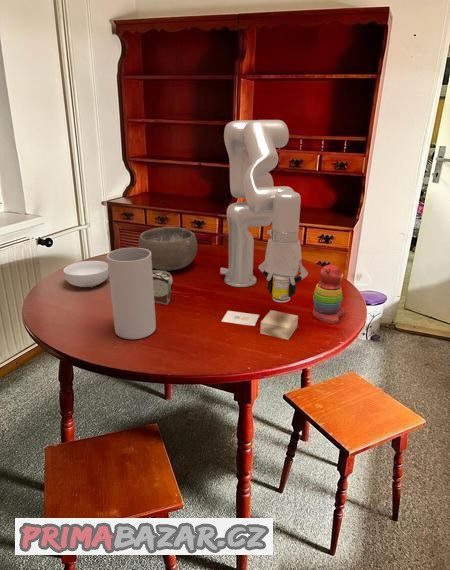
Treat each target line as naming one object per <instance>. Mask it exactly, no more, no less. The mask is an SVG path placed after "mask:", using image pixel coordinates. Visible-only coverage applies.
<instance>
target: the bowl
mask: <svg viewBox="0 0 450 570" xmlns="http://www.w3.org/2000/svg"><path fill="white" fill-rule="evenodd" d="M138 248H143V249H147V250H149V251H150V252H151V258H152V269H153V270H154V269H155V270H159V271H166V272H169V271H174V270H180V269H183V268H185V267H188V265H190V264H191V263H192V262H193V260H194V259H195V257H196V255H197V252H198V240H197V238H196V235H195V233H194V232H192V231H191V230H189V229H186V228H183V227H177V226H163V227H157V228H156V227H155V228H152V229H148V230H146V231H143V232H141V234H140V236H139V237H138Z"/></svg>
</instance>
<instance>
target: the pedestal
mask: <svg viewBox="0 0 450 570" xmlns="http://www.w3.org/2000/svg"><path fill="white" fill-rule="evenodd" d="M298 320H299V315H296V314H291V313H287V312H282V311H277V310H272V309H271V310H269V312H268V313H267V314H266V315H265V316H264V318H263V319H261V321H260V331H259V332H260V335H261V334H262V335H266V336H270V337H274V338H277V339H283V340H287V341H289V340H290V339H291V336H292V335H293V334H294V332H295V331H296V330H297V328H298V322H299V321H298Z"/></svg>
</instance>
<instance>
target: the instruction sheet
mask: <svg viewBox="0 0 450 570" xmlns="http://www.w3.org/2000/svg"><path fill="white" fill-rule="evenodd" d="M259 318H260V314H257V313H256V314H255V313H250V312H249V313H246V312H241V311H232V310H227V311H226V313H225V314H224V316H223V318H222V319H221V322H222V323H228V324H229V323H230V324H236V325H243V326H253V327H255V326H256V324H257V321H258V319H259Z"/></svg>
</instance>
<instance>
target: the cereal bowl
mask: <svg viewBox="0 0 450 570" xmlns="http://www.w3.org/2000/svg"><path fill="white" fill-rule="evenodd" d="M62 273H63V276H64V278H65V280H66V282H68V283H69V284H70V285H71V286H76V287H78V288H81V287H91V288H94V286H95V287H97V286H99V284H102V283H103V282H105V281H106V280H107V278H109V270H108V262H106V261H101V260H100V261H99V260H83V261H78V262H75V263H71V264H69V265H67V266H65V267H64V268H63V271H62ZM96 285H97V286H96Z"/></svg>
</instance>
